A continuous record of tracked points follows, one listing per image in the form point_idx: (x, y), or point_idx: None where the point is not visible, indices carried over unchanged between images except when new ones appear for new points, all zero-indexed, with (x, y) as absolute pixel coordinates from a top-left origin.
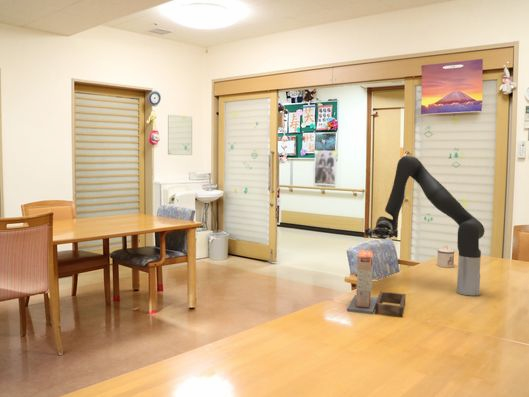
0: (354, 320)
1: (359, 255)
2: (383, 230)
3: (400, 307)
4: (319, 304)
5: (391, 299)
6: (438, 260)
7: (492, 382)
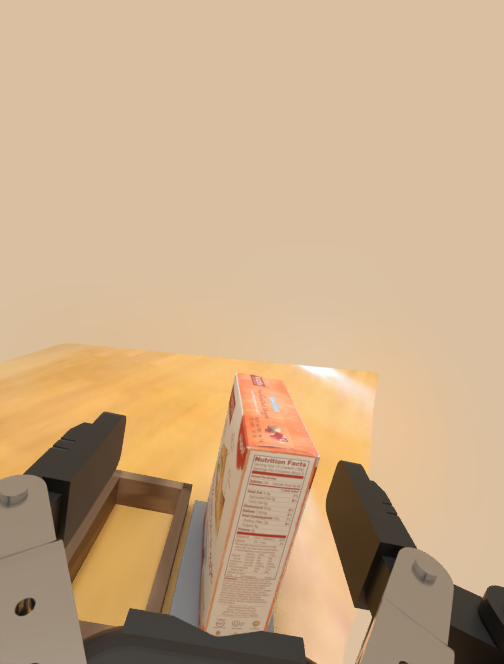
0: None
1: (281, 384)
2: (163, 646)
3: (120, 473)
4: None
5: None
6: None
7: (85, 351)
